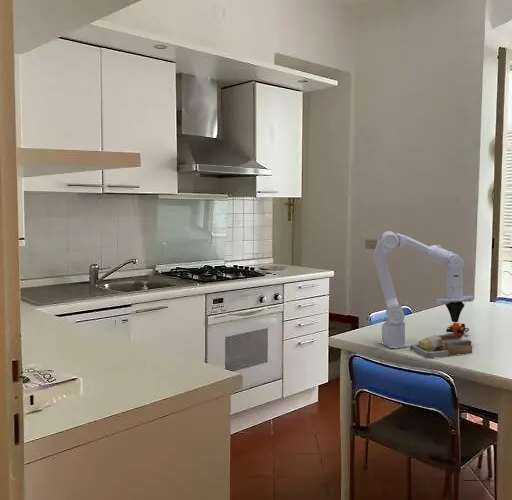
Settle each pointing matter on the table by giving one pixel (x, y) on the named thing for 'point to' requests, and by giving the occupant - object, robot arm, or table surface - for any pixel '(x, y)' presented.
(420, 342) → the tan wooden block
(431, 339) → the grey block
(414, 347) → the tray
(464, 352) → the slot block
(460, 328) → the toy
